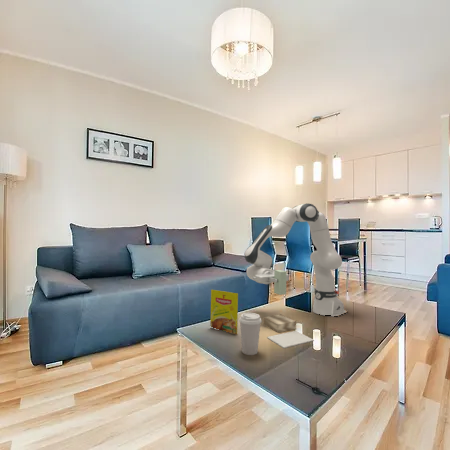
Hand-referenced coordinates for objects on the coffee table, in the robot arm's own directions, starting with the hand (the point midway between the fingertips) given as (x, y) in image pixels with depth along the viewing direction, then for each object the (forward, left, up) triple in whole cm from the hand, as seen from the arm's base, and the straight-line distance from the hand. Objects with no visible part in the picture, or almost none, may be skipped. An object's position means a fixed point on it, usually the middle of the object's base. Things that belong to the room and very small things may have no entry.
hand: (281, 280), depth 138 cm
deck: (0, -1, -25) cm, 25 cm away
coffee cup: (+30, +16, -25) cm, 42 cm away
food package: (+30, -8, -25) cm, 40 cm away
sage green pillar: (0, -1, -7) cm, 7 cm away
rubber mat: (+6, +14, -25) cm, 29 cm away
